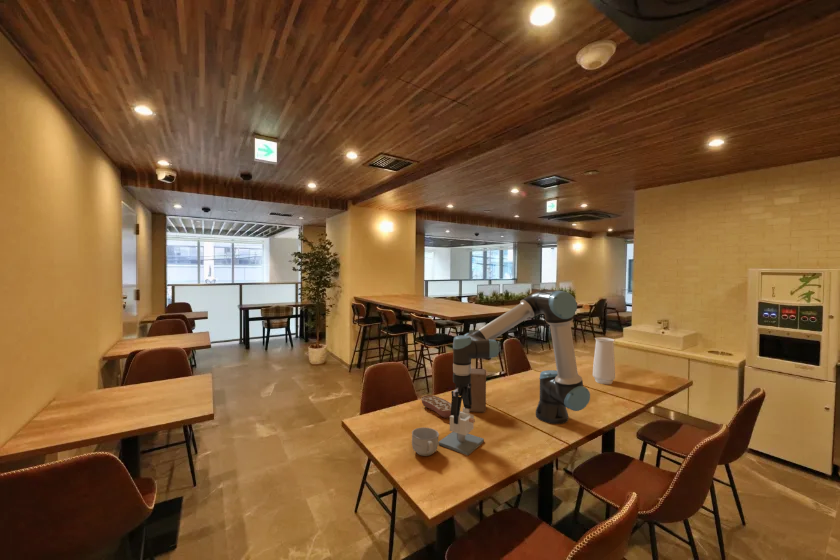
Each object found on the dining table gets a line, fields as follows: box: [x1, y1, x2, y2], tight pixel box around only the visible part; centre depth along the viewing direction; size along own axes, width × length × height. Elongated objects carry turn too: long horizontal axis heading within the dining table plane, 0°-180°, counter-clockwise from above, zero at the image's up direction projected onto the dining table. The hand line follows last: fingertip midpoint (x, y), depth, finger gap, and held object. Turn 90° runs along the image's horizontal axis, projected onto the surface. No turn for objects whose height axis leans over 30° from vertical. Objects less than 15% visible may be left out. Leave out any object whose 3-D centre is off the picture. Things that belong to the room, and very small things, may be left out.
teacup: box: [411, 426, 440, 457], centre depth 138 cm, size 14×11×8 cm
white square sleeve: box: [449, 410, 476, 436], centre depth 146 cm, size 9×7×6 cm
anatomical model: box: [421, 394, 451, 419], centre depth 179 cm, size 23×10×5 cm, turn 34°
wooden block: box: [469, 368, 487, 413], centre depth 183 cm, size 10×10×20 cm
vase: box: [592, 336, 616, 385], centre depth 226 cm, size 13×13×28 cm
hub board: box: [438, 431, 485, 456], centre depth 147 cm, size 14×14×9 cm
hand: (461, 426), depth 147 cm, fingers closed on white square sleeve, 7 cm apart
